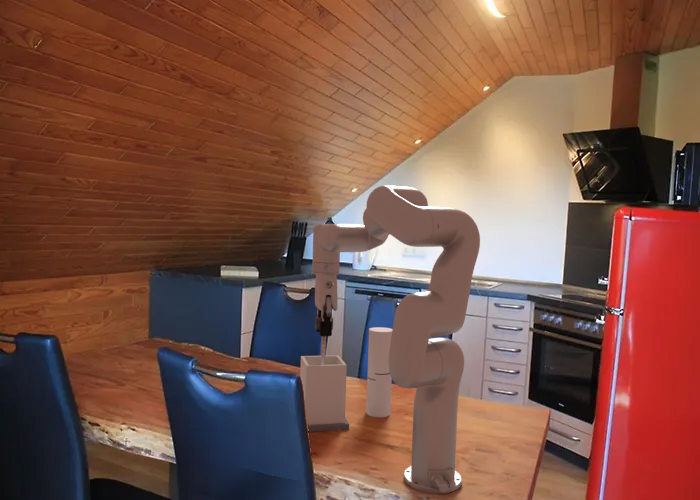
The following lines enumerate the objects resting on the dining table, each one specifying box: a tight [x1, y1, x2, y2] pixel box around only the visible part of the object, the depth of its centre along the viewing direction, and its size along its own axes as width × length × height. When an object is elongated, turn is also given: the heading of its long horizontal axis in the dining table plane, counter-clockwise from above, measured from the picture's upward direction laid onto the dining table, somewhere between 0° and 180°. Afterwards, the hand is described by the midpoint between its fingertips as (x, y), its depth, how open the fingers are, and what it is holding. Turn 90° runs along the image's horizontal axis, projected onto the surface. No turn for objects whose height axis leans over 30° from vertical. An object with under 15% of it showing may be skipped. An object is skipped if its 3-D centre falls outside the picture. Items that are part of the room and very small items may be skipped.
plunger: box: [314, 316, 334, 365], centre depth 157 cm, size 9×9×22 cm
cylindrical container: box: [365, 326, 393, 418], centre depth 166 cm, size 7×7×25 cm
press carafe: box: [299, 354, 350, 432], centre depth 158 cm, size 13×13×18 cm
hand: (323, 333), depth 157 cm, fingers closed on plunger, 5 cm apart
